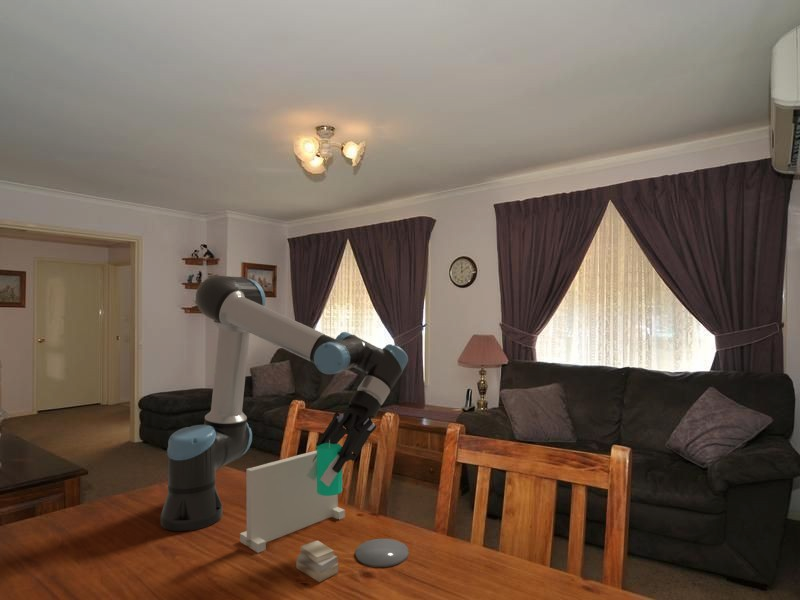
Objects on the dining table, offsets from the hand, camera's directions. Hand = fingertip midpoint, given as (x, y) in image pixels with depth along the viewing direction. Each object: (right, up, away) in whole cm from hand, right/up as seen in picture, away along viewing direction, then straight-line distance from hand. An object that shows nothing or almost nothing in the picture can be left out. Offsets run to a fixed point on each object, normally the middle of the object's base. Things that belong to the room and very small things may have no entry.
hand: (316, 480), depth 117 cm
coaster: (+15, -16, -1) cm, 22 cm away
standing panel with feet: (-7, -16, +12) cm, 21 cm away
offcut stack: (+1, -16, -8) cm, 18 cm away
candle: (+3, -4, +3) cm, 5 cm away
